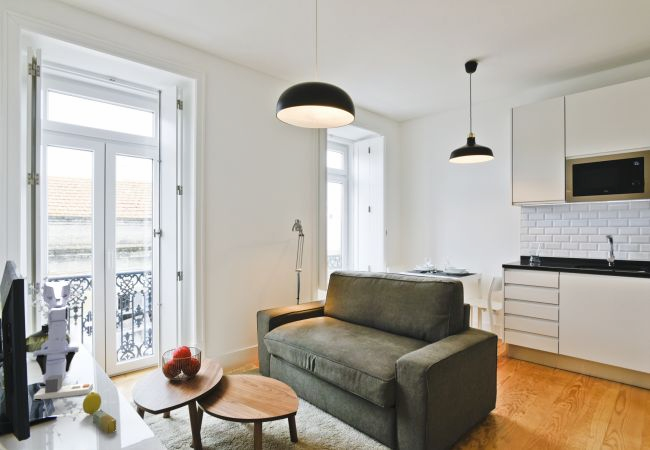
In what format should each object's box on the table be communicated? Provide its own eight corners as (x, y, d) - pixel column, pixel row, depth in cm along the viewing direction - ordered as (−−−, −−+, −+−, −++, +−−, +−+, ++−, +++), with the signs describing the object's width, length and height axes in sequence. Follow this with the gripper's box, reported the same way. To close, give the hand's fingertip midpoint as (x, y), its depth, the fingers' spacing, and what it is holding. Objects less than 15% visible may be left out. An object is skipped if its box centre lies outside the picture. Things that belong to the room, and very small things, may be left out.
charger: (49, 392, 144) (50, 375, 145) (61, 391, 146) (62, 374, 146) (44, 397, 139) (45, 380, 140) (57, 396, 141) (57, 378, 141)
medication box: (92, 423, 122) (92, 411, 122) (100, 420, 124) (101, 408, 124) (107, 435, 114) (108, 422, 115) (116, 431, 117) (117, 418, 117)
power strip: (40, 395, 144) (41, 386, 144) (92, 389, 150) (92, 381, 150) (33, 403, 137) (33, 393, 138) (87, 396, 143) (88, 387, 144)
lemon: (91, 419, 124) (92, 395, 124) (78, 417, 125) (79, 394, 125) (104, 412, 129) (105, 389, 130) (91, 410, 130) (92, 388, 131)
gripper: (31, 342, 137) (29, 378, 136) (76, 338, 142) (74, 373, 142) (37, 338, 143) (35, 372, 142) (80, 334, 149) (79, 367, 148)
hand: (55, 372), depth 142 cm, fingers open, 7 cm apart
